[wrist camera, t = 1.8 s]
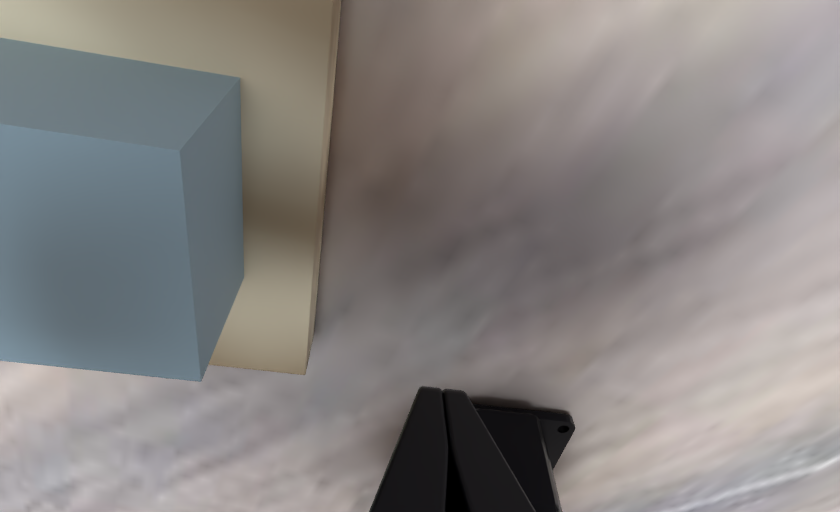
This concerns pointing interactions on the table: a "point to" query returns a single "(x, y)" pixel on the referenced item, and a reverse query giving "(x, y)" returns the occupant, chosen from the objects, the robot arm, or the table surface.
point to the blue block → (116, 211)
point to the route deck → (260, 135)
